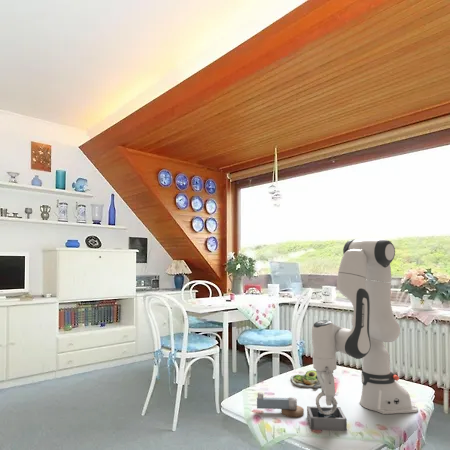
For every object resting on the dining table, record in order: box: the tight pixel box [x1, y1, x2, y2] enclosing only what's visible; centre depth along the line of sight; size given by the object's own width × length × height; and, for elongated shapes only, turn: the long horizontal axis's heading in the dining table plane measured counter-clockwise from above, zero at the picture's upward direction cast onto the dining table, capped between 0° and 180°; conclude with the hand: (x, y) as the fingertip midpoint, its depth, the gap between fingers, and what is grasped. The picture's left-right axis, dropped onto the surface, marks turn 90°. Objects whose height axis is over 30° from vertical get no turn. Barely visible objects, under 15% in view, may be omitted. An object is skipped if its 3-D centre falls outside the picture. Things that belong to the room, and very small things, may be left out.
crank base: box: [280, 405, 305, 418], centre depth 158 cm, size 9×9×2 cm
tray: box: [306, 405, 348, 431], centre depth 148 cm, size 13×11×4 cm
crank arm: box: [256, 391, 298, 410], centre depth 159 cm, size 16×4×6 cm, turn 85°
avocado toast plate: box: [290, 369, 321, 389], centre depth 193 cm, size 19×18×5 cm
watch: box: [315, 391, 338, 418], centre depth 147 cm, size 6×8×11 cm
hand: (326, 399), depth 149 cm, fingers open, 8 cm apart
